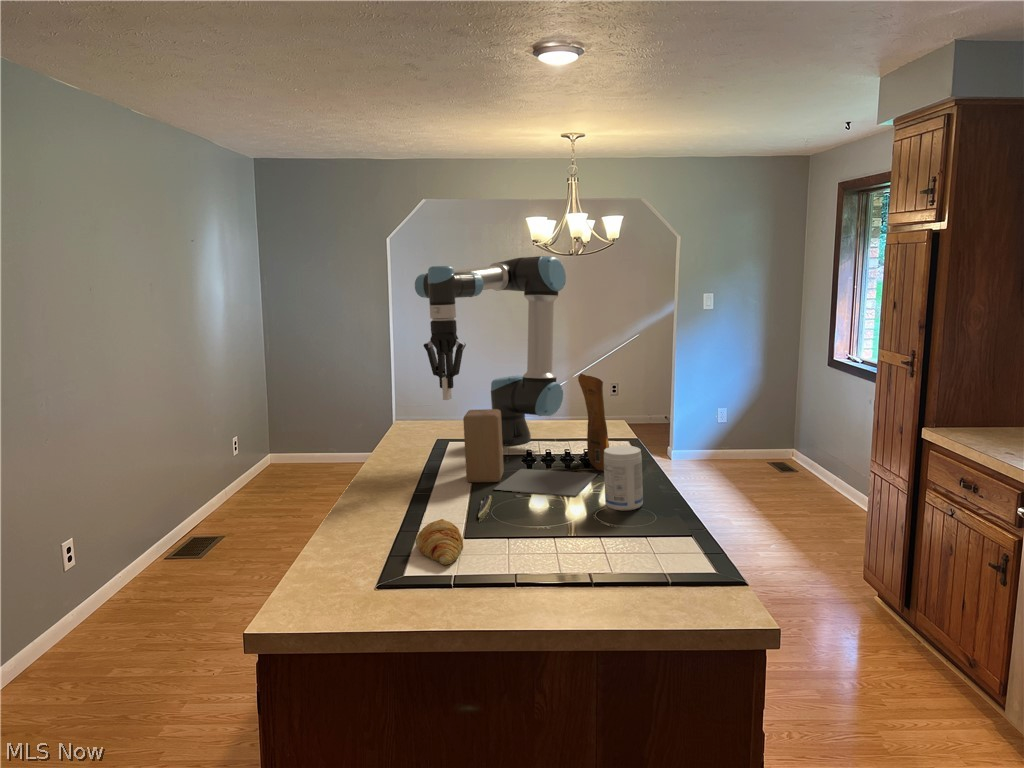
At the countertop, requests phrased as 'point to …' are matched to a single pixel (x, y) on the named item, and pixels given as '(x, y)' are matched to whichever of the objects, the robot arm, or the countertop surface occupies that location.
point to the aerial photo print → (486, 506)
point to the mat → (547, 482)
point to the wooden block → (483, 445)
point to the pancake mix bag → (595, 419)
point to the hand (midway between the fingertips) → (447, 399)
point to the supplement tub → (623, 477)
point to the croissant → (440, 541)
